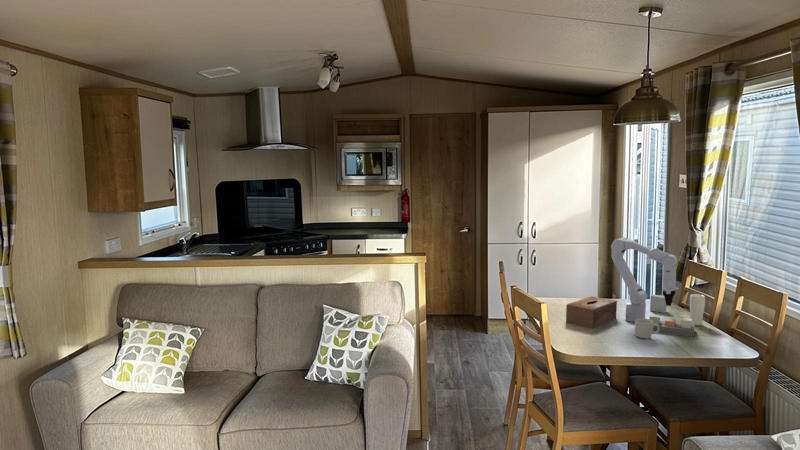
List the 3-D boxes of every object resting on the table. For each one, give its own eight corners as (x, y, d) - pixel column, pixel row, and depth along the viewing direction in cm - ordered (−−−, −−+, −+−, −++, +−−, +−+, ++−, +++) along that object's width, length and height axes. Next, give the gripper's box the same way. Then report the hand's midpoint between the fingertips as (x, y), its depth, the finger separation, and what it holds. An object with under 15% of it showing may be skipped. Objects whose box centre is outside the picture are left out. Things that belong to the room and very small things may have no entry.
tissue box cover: (592, 329, 282) (592, 309, 281) (565, 323, 292) (566, 304, 291) (616, 319, 299) (616, 300, 298) (590, 314, 310) (591, 296, 309)
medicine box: (666, 311, 314) (667, 296, 313) (665, 313, 310) (666, 297, 309) (651, 309, 318) (651, 294, 317) (649, 311, 314) (650, 295, 313)
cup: (658, 336, 269) (659, 319, 269) (659, 341, 262) (660, 324, 261) (633, 333, 273) (634, 317, 272) (634, 338, 265) (635, 322, 265)
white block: (680, 328, 273) (681, 320, 273) (681, 325, 277) (681, 317, 277) (691, 329, 271) (691, 321, 271) (691, 327, 275) (691, 319, 275)
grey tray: (645, 330, 278) (645, 324, 278) (647, 324, 288) (648, 319, 287) (693, 336, 268) (694, 330, 268) (694, 330, 278) (694, 324, 277)
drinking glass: (705, 326, 284) (707, 297, 283) (690, 325, 286) (692, 296, 284) (701, 322, 291) (702, 294, 289) (686, 322, 292) (688, 293, 291)
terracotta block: (664, 328, 277) (665, 320, 277) (665, 326, 281) (665, 318, 280) (674, 329, 275) (675, 321, 274) (675, 327, 279) (675, 319, 278)
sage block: (649, 324, 280) (649, 316, 280) (650, 322, 284) (650, 314, 284) (659, 325, 278) (659, 317, 278) (659, 323, 282) (660, 315, 282)
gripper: (677, 282, 276) (676, 309, 277) (679, 276, 288) (678, 303, 290) (661, 280, 279) (660, 308, 280) (663, 275, 292) (663, 301, 293)
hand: (668, 305), depth 285 cm, fingers closed
